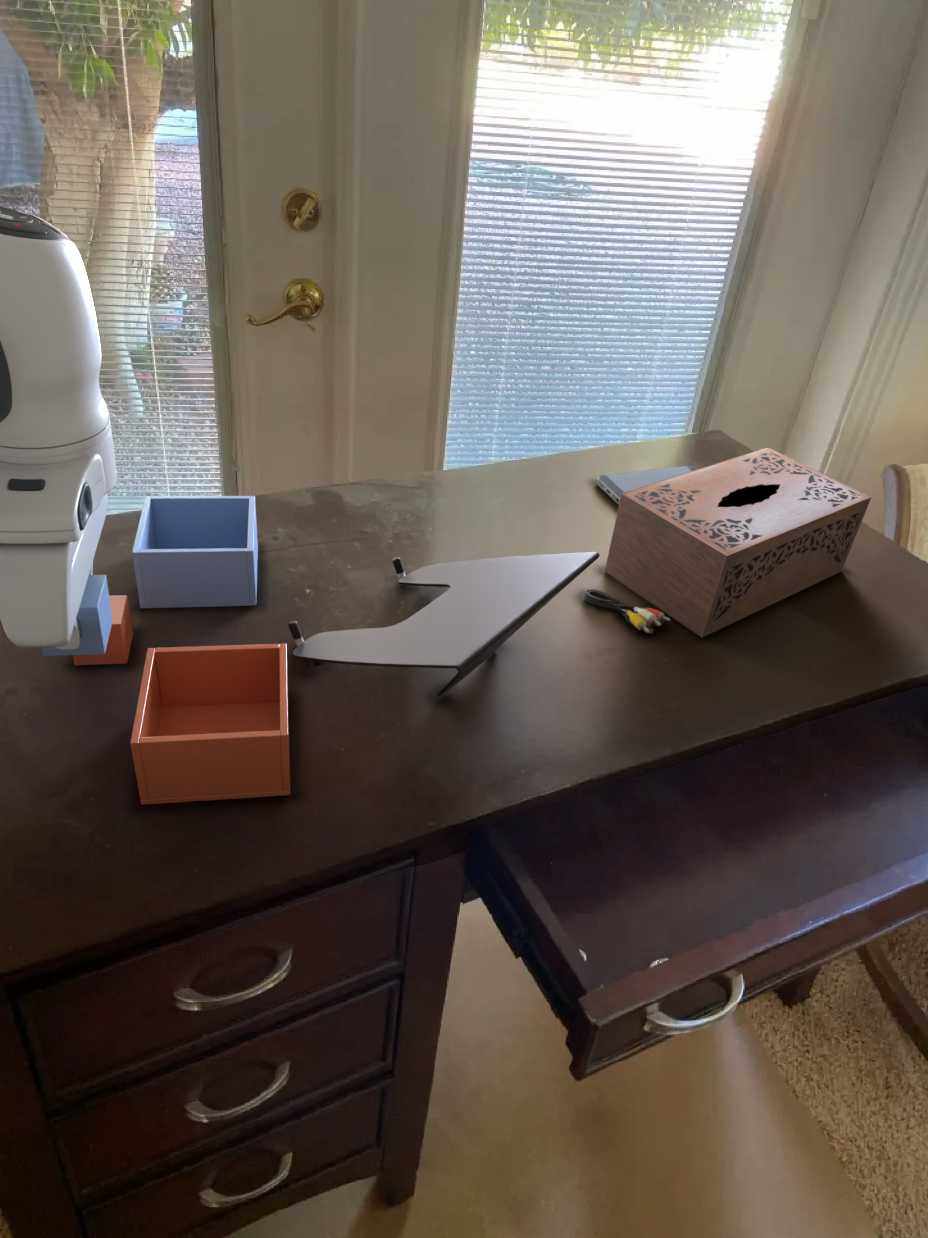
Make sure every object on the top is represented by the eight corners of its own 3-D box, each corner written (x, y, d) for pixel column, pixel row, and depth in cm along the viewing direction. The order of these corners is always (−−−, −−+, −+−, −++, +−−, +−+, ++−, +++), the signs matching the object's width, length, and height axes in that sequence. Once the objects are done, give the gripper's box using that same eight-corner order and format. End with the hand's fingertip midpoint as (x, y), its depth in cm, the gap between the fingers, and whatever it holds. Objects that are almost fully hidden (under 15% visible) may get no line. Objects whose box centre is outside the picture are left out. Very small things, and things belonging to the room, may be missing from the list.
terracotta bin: (141, 805, 68) (130, 743, 64) (156, 707, 77) (147, 647, 73) (290, 795, 70) (288, 735, 66) (288, 701, 79) (286, 643, 75)
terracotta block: (74, 665, 80) (66, 625, 77) (83, 635, 84) (75, 596, 81) (127, 663, 81) (120, 624, 78) (133, 634, 84) (127, 595, 82)
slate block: (42, 656, 68) (32, 608, 66) (54, 621, 72) (44, 574, 69) (105, 654, 69) (97, 607, 67) (113, 620, 73) (106, 574, 70)
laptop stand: (438, 620, 101) (414, 545, 97) (616, 619, 86) (594, 530, 83) (294, 725, 85) (260, 639, 82) (483, 746, 70) (449, 642, 67)
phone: (622, 509, 113) (724, 496, 119) (624, 502, 113) (726, 489, 119) (593, 482, 119) (692, 470, 125) (595, 475, 118) (694, 464, 124)
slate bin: (140, 608, 88) (131, 552, 84) (152, 548, 97) (145, 495, 93) (256, 605, 90) (253, 551, 86) (257, 547, 99) (255, 495, 95)
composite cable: (577, 599, 96) (581, 579, 95) (608, 586, 99) (612, 567, 97) (645, 646, 90) (651, 626, 89) (676, 631, 93) (681, 612, 91)
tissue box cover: (701, 637, 92) (726, 556, 86) (604, 571, 101) (621, 493, 95) (841, 571, 106) (871, 496, 100) (745, 518, 115) (767, 447, 109)
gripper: (29, 399, 69) (57, 551, 77) (-43, 534, 53) (1, 708, 61) (115, 402, 70) (133, 551, 78) (70, 534, 54) (99, 705, 62)
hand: (75, 621), depth 69 cm, fingers closed on slate block, 4 cm apart
